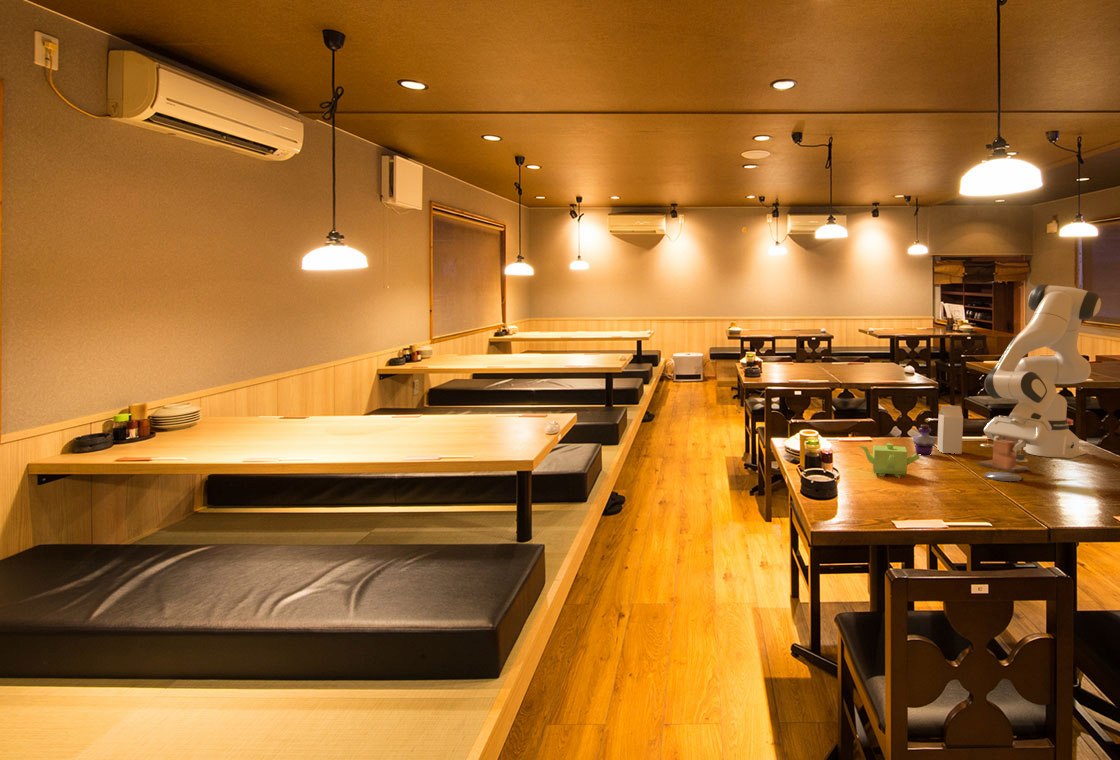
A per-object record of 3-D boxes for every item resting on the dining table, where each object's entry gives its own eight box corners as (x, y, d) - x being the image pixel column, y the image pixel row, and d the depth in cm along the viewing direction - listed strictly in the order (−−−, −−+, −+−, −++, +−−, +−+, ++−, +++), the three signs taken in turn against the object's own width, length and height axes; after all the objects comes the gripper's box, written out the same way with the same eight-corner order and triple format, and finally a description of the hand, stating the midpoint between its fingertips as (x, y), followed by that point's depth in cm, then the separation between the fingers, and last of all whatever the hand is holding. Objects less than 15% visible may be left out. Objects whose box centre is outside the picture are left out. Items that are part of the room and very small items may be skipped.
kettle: (857, 472, 265) (858, 442, 264) (885, 468, 272) (886, 438, 270) (892, 481, 252) (893, 449, 251) (920, 476, 258) (921, 445, 257)
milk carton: (961, 454, 292) (963, 407, 290) (942, 453, 293) (944, 407, 291) (955, 450, 299) (957, 404, 296) (937, 450, 300) (938, 404, 298)
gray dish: (998, 472, 261) (998, 470, 261) (1028, 479, 251) (1028, 477, 251) (977, 476, 257) (977, 473, 257) (1007, 483, 247) (1007, 480, 247)
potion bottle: (923, 451, 298) (924, 422, 297) (940, 455, 290) (942, 425, 289) (906, 453, 296) (907, 424, 294) (923, 457, 288) (924, 427, 286)
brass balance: (987, 461, 278) (989, 433, 277) (1033, 471, 262) (1035, 441, 261) (973, 463, 275) (974, 435, 274) (1018, 473, 259) (1020, 443, 258)
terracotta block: (1001, 464, 257) (1003, 439, 256) (1015, 467, 252) (1017, 441, 251) (992, 466, 255) (993, 440, 254) (1006, 468, 250) (1007, 443, 249)
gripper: (992, 409, 264) (972, 438, 261) (1049, 417, 245) (1028, 448, 242) (999, 420, 266) (980, 449, 263) (1057, 429, 247) (1036, 460, 245)
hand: (1003, 449), depth 253 cm, fingers closed on terracotta block, 5 cm apart
